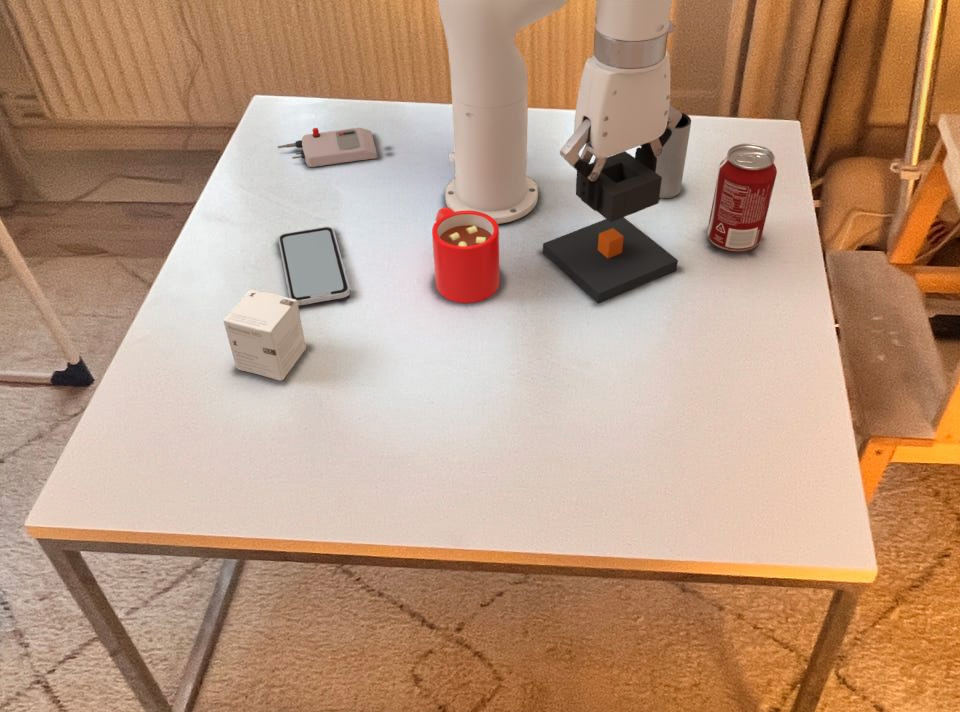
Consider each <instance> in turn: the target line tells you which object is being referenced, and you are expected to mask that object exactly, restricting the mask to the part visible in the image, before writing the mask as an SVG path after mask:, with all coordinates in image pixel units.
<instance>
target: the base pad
mask: <svg viewBox="0 0 960 712" xmlns="http://www.w3.org/2000/svg"><path fill="white" fill-rule="evenodd" d="M542 254H543V255H544V256H545V257H546V258H547V259H548V260H550V261H551V262H552V263H553V264H554V265H555V266H556V267H557V268H558V269H560V271H562V272H563V273H564V274H565V275H566V276H567V277H568V278H569V279H571V280H572V281H573V282H574V283H575V285H577V286H579V287H580V289H582V290H583V291H584V292H585V293H586V294H587V295H589V297H590V298H591V299H593V300H594V301H595V302H596V303H597V304H600V303H602V302H604V301H607V300H610V299H612V298H614V297H616V296H619V295H621V294H623V293H625V292H628V291H631V290H633V289H635V288H637V287H640V286H642V285H645V284H647V283H649V282H652V281H654V280H656V279H659V278H661V277H664V276H666V275H669V274H670V273H673V272H675V271H677V270H678V264H679V260H678V259H677V258H676V257H675V256H674V255H672V254H671V253H669V252H668V251H667V250H666V249H665V248H664V247H662V246H661V245H660V244H658V243H657V242H656V241H655V240H653V239H652V238H651V237H650V236H648V235H647V234H646V233H644V232H643V231H642V230H641V229H639V228H638V227H637V226H636V225H634V224H633V223H632V222H631V221H630V220H628V219H627V218H626V217H623V218H620V219H618V220H615V221H613V222H610V221H608V220H607V219H606V218H604V219H602V220H599V221H597V222H594V223H591V224H589V225H587V226H584V227H581V228H579V229H577V230H574V231H572V232H569V233H566V234H563V235H561V236H558V237H556V238H552V239H550V240H549V241H546V242H543V243H542Z"/></svg>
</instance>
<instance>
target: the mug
mask: <svg viewBox="0 0 960 712" xmlns="http://www.w3.org/2000/svg"><path fill="white" fill-rule="evenodd" d="M436 213H437V214H436V216H435V222H434V223H433V226H432V229H431V238H432V250H433V252H432V253H433V262H434V263H433V265H434V277H435V286H436V290H437V292H438V293H439V294H440V295H441V296H442V297H444V298H445V299H447V300H449V301H451V302H455V303H461V304H473V303H478V302H482V301H485V300H487V299H489V298H491V297H492V296H494V294H496V292H498V290H499V288H500V283H501V282H500V281H501V280H500V276H501V275H500V227H499V224H497V222H496V221H495V220H494V219H493V218H492V217H491V216H489V215H487V214H484V213H482V212H477V211H470V210H465V211H456V212H455V211H453V210H452V209H451V208H448V206H445V207H442V208H440V209H439V210H438V211H437V212H436Z"/></svg>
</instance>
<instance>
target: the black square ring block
mask: <svg viewBox="0 0 960 712" xmlns="http://www.w3.org/2000/svg"><path fill="white" fill-rule="evenodd" d="M592 164H593V162H591V163H589V165H590V166H592ZM599 177H600V178H601V179H602V181H603V183H602V192H601V205H600V209H599V210H596V211H595V212H596V213H598V214H599V215H601V217H603V218H604V219H607V220H608V221H610V222H613V221H615V220H618V219H620V218H623V217H624V218H626V217H628V216H631V215H633V214H636V213H638V212H640V211H644V210H645V209H648V208H650V207H653V206H656V205H658V204H659V203H660V197H659V196H660V188H661V180H662V177H661V176H660V175H658V174H657V173H655V172H654V171H652V170H651V169H650V168H648V167H647V166H645V165H644V164H642V163H641V162H640V161H638V160H637V159H635V156H633V155H631V154H630V153H628V152H627V150H626V151H624V152H621V153H618V154H615V155H612V156H609V157H607V159H606V162H605V164H604V166H603V168H602V170H601V172H600V174H599ZM580 180H581V173H580V172H579V171H577V170H576V178H575V196H576V197H578V198H579V199H581V198H580Z"/></svg>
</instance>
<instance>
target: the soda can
mask: <svg viewBox="0 0 960 712" xmlns="http://www.w3.org/2000/svg"><path fill="white" fill-rule="evenodd" d="M775 159H776V157H775V154H774V152H773V151H772V150H771V149H769V148H767V147H766V146H763V145H761V144H756V143H740V144H736V145H733V146H732V147H730V148H729V149H728V151H727V154H726V157H724V158H723V159H722V161H721V162H720V163H719V167H718V173H717V176H716V177H717V178H716V183H715V187H714V192H713V193H714V194H713V199H712V203H711V208H710V209H711V210H710V215H709V220H708V225H707V230H706V236H707V238H708V240H709V241H710V242H711V244H712V245H714V246H716V247H717V248H720V249H722V250H725V251H729V252H745V251H749V250H753V249H754V248H756V247H757V246H758V245H760V243H761V239H762V236H763V232H764V228H765V225H766V219H767V217H768V212H769V208H770V203H771V199H772V195H773V190H774V187H775V183H776V179H777V174H778V173H777V172H778V170H777V167H776V164H775Z"/></svg>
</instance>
